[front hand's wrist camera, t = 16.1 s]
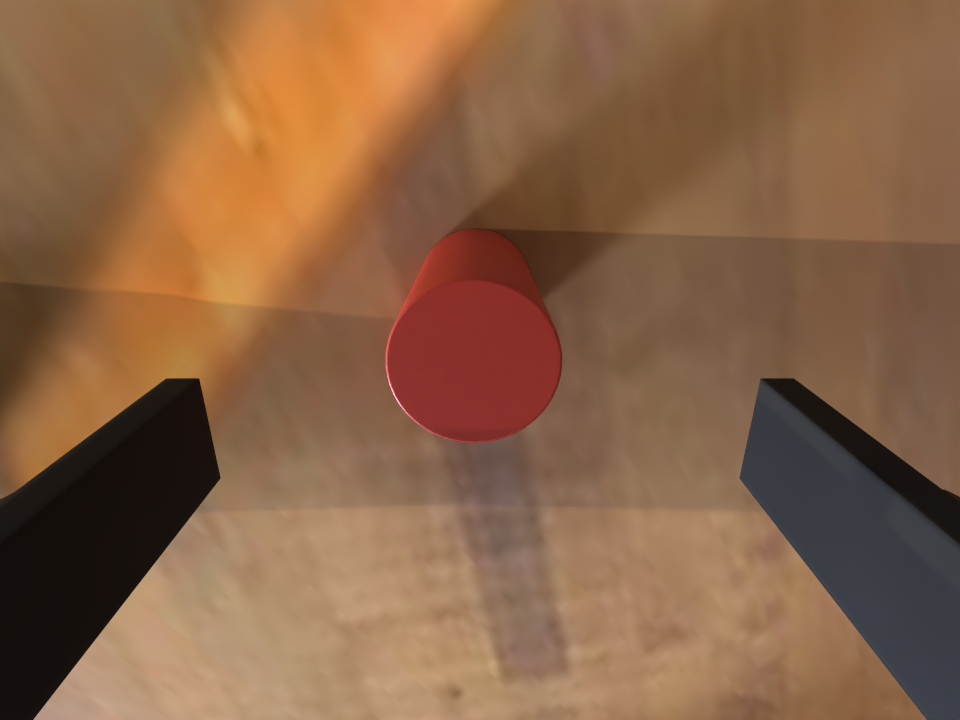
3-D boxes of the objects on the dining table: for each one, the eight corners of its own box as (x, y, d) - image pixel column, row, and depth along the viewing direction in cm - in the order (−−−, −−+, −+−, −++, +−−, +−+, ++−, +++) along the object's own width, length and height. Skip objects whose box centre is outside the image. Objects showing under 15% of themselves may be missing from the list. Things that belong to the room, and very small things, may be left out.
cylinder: (552, 274, 28) (599, 350, 17) (485, 356, 30) (489, 472, 19) (464, 204, 27) (455, 240, 16) (399, 294, 28) (350, 381, 18)
